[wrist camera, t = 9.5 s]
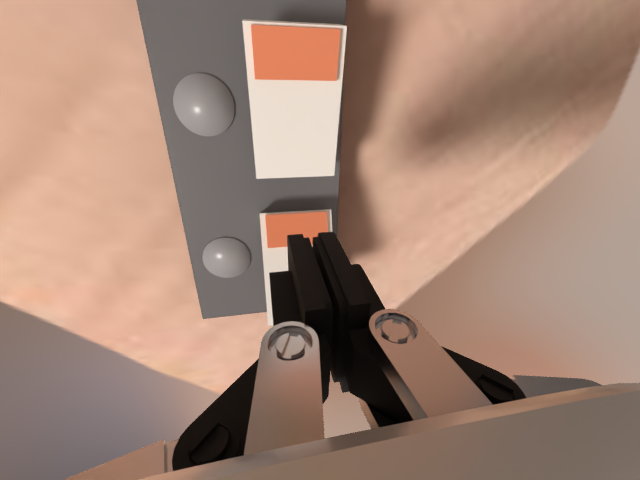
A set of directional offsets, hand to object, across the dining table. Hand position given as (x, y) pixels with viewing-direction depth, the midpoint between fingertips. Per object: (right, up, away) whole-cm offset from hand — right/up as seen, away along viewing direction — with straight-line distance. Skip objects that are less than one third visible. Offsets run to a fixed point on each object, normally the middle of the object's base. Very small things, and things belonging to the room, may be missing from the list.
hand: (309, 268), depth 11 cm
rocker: (-1, 0, +7) cm, 7 cm away
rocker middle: (-1, +7, +3) cm, 8 cm away
